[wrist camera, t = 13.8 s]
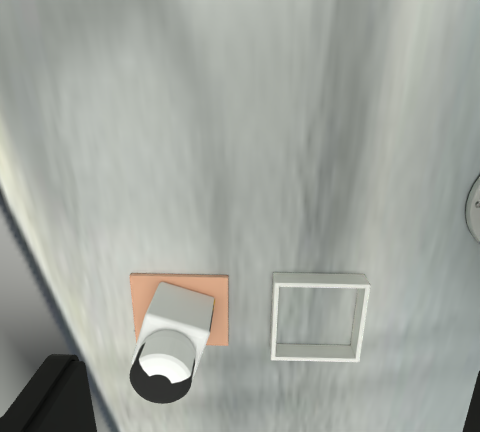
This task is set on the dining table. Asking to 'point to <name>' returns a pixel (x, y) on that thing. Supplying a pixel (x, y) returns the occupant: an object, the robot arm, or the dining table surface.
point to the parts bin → (321, 351)
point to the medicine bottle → (171, 343)
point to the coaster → (204, 284)
